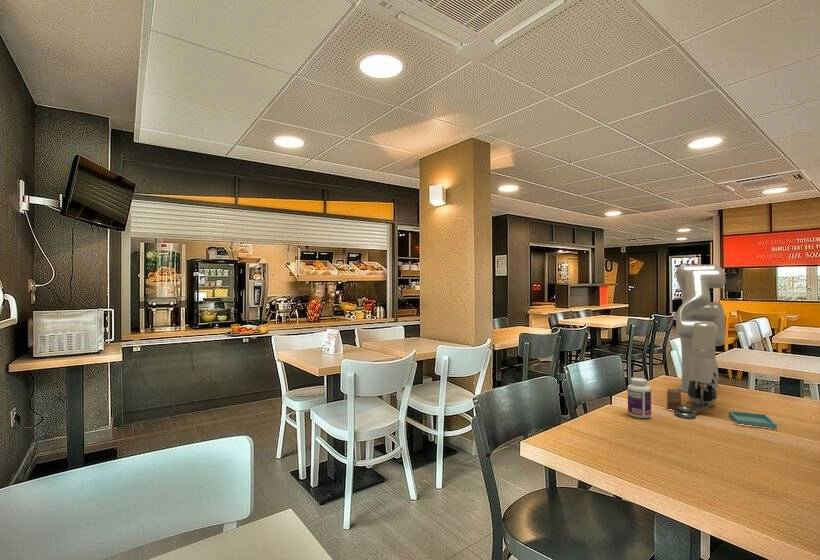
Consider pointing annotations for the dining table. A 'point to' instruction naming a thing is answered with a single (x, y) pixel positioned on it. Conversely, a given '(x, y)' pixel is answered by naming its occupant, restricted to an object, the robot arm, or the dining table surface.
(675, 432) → the dining table surface
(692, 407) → the crank
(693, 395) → the black tapered rounded piece
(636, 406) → the pill bottle
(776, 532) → the dining table surface
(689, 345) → the robot arm
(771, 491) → the dining table surface
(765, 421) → the tray
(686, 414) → the crank base
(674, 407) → the block
